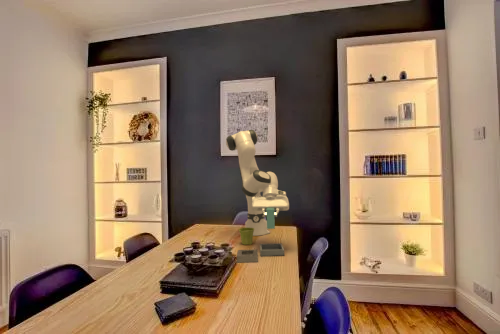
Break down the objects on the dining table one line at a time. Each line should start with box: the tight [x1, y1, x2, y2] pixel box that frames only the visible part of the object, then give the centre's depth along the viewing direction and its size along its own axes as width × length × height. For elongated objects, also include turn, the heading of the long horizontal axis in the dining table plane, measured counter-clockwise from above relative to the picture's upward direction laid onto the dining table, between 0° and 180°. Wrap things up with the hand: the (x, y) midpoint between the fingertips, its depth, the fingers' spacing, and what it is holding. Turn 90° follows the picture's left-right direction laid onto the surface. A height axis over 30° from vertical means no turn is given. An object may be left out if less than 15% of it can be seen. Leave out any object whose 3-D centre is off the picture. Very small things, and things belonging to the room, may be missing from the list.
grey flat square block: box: [236, 248, 259, 264], centre depth 126 cm, size 10×10×3 cm
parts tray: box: [259, 242, 285, 257], centre depth 135 cm, size 12×12×3 cm
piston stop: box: [265, 208, 276, 230], centre depth 136 cm, size 4×4×10 cm
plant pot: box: [238, 227, 254, 246], centre depth 154 cm, size 9×9×9 cm
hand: (270, 216), depth 135 cm, fingers closed on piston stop, 4 cm apart
